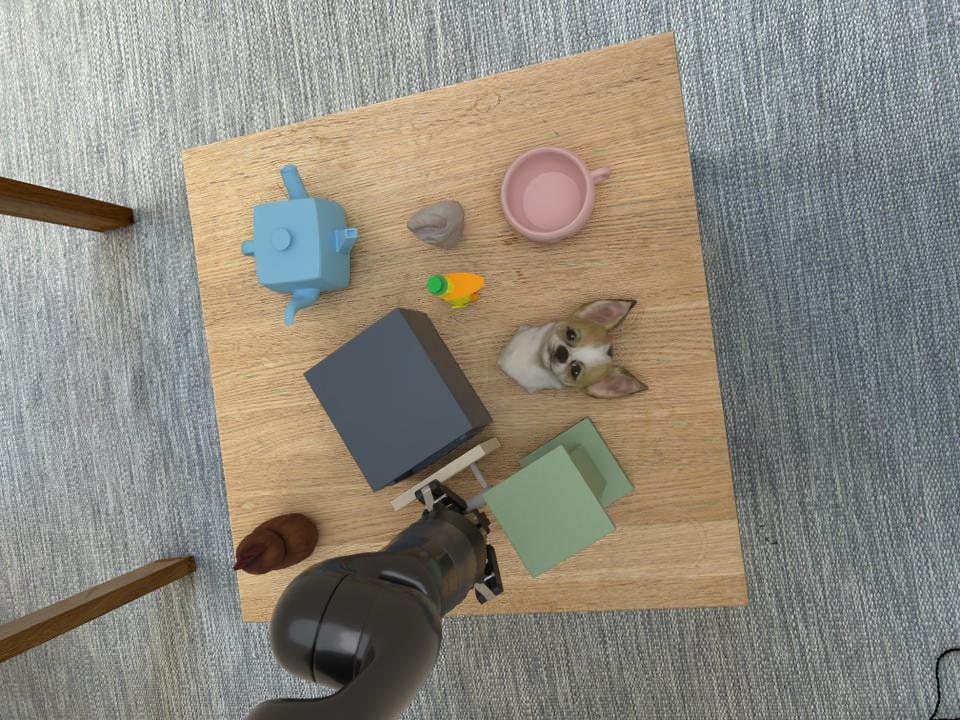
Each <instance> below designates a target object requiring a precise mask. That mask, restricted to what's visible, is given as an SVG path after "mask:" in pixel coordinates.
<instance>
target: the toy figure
mask: <svg viewBox="0 0 960 720" xmlns="http://www.w3.org/2000/svg"><path fill="white" fill-rule="evenodd" d="M485 286H486V280H485V277H484V276H481V275H478V274H476V273H470V272H453V273H452V272H451V273H446V274H434V275H432V276H431V277H430V278H428V279H427V281H426V288H427V290H428V292H429V293H430V294H431V295H432V296H433V297H434V298H437V299H442V300H445V301H446V302H447V304H452V306H451V310H459V309H464V308H467V307H468V305H466V304H468V303H474V302H477V301H478V300H480V294H477V292H479V291H480V290H481V289H482V288H483V287H485Z"/></svg>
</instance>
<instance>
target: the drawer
mask: <svg viewBox="0 0 960 720" xmlns="http://www.w3.org/2000/svg"><path fill="white" fill-rule="evenodd" d="M483 431H484V428H482V427H480V428H477V429H474V430H471V431H469V432H467V433H466V434H464V435H463V436H461V437H460V438H458V439H457V440H455V441H454V442H452V443H451V444H449V445H447V446H446V447H444V448H443V449H441V450H440V451H438V452H437V453H435V454H434V455H432V456H431V457H429V458H427V459H426V460H424V461H423V462H421V463H420V464H418V465H417V466H415V467H414V468H412V469H411V470H409V471H407V472H406V473H404V474H403V475H401V476H400V477H398V478H397V479H395V480H394V481H392V482H391V483H389V484H388V486H387V487H389V488H391V487H393V486H395V485H397V484H399V483H402V482H403V481H405V480H408V479H410V478H412V477H414V476H415V475H417V474H418V473H420V472H422V471H423V470H424V469H426V468H427V467H429V466H430V465H432V464H434V463H435V462H437V461H438V460H440V459H442V458H443V457H445V456H446V455H448V454H449V453H451V452H452V451H454V450H456V449H457V448H459V447H460V446H462V445H463V444H465V443H466V442H467V441H469V440H471V439H472V438H474V437H476V436H477V435H478V434H481V433H482V432H483ZM500 447H502V445H501V443H500V442H499V440H498V438H497V437H496V436H494V437H492V438H490V439H488V440H486V441H482V442H481V443H478V444H477V445H475V446H474V447H473V448H471V449H469V450H468V451H466V452H464V453H463V454H461V455H460V456H458V457H457V458H456V459H454V460H453V461H450V462H449V463H448V464H446V465H445V466H443V467H442V468H440V469H438V470H437V471H436V472H434V473H432V474H431V475H429V476H427V477H426V478H424V479H423V480H421V481H420V482H418V483H417V484H415V485H413V486H412V487H411V488H409V489H407V490H406V491H404V492H403V493H401V494H399V495H398V496H396V497H395V498H393V499H391V500H390V501H389V503H390V505H391V507H392V509H394V512H398V511H400V510H402V509H404V508H405V507H407V506H409V505H410V504H412V503H414V502H416V501H418V500H417V499H416V496H415V491H417V490H419V489H420V488H422V487H423V486H425V485H426V484H428V483H430V482H431V481H433V480H434V479H437V480H438V481H440V482H441V483H442V484H444V483H447V482H448V481H449V480H450V479H452V478H453V477H455V476H457V475H459V474H460V473H462V472H463V471H465V470H466V469H468V468H470V470H471V471H472V473H473V474H474V477H476V480H477V481H478V482H479V484H480V486H481V487H482V489H481V490H480V491H478V492H476V493H475V494H474V495H472V496H471V497H468V498H467V499H465V501H466V503H467V506H468V509H466V511H467V512H468V513H470V512H472V511H473V510H475V509H478V510H479V509H480V508H481V507H483V506H485V505H487V504H486V502H485V500H484V499H483V497H482V496H481V495H482V494H483V493H484V492H486V491H487V490H489V489H491V488H492V487H494V485H491V484H489V483H488V481H487V479H486V478H485V476H484V474H483V473H482V471H481V470H480V468H479V467H478V465H477V462H479V461H481V460H483V458H485V457H486V456H488V455H489V454H491V453H493V452H494V451H496V450H497V449H499V448H500Z"/></svg>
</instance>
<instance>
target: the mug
mask: <svg viewBox="0 0 960 720" xmlns="http://www.w3.org/2000/svg"><path fill="white" fill-rule="evenodd" d="M612 174H613V170H612V169H611V167H608V166H603V167H598V168H596V169H594V170H592V171H591V170H590V168H589V166H588V165H587V164H586V162H585V161H584V160H583V159H582V158H581V157H580V156H579V155H577V154H576V153H575V152H573V151H572V150H569V149H567V148H565V147H562V146H558V145H549V144H545V145H544V144H543V145H540V146H534V147H532V148H529V149H527V150H525V151H524V152H522V153H521V154H519V155H518V156H516V158H515V159H514V160H512V162H510V164H509V165H508V167H507V169H505V172H504V174H503V177H502V179H501V183H500V188H499V202H500V206H501V211H502V213H503V215H504V218H505V220H506V222H507V223H508V224H509V225H510V227H511V228H512V229H513V230H514V231H515V232H516V233H518V234H519V235H520V236H521V237H523V238H525V239H527V240H529V241H531V242H535V243H538V244H554V243H560V242H563V241H566V240H568V239H570V238H571V237H573V236H574V235H576V234H578V233H579V232H580V231H581V229H583V228H584V227H585V226H586V224H587V222H588V221H589V220H590V219H591V216H592V213H593V211H594V209H595V204H596V200H597V193H596V192H597V190H596V184H599V183H602V182H605V181H606V180H608V179H609V178H610V177H611V176H612Z"/></svg>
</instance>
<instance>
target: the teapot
mask: <svg viewBox="0 0 960 720" xmlns="http://www.w3.org/2000/svg"><path fill="white" fill-rule="evenodd" d="M279 173H280V176H281V179H282V181H283V184H284V186H285V189H286V192H287V194H288V197H289V199H286V200H285V199H284V200H277V201H271V202H265V203H259V204H256V205H255V204H254V206H253V214H252V233H253V235H252V237H253V238H252V239H248V240H247V239H246V240H244V241H243V242H241V245H240V251H241V254H242V255H243V256H246V257H252V258H254V261H255V270H256V275H257V281H258V283H259V285H260V286H262V287H264V288H266V289H267V290H269V291H272V292H275V293H277V294H282V295H292V299H291V300H290V301H289V302H288V303H287V304H286V306H285V309H284V314H283V318H284V323H285V325H286V326H287V327H291V326H292V325H293V323H294V320H295V316H296V314H297V312H299V311H300V310H303V309H307V308H309V307H311V306H312V305H314V304H315V303H316V302H317V301H318V299H319V298H320V295H321V293H322V292H329V291H330V292H331V291H336V290H341V289H346V288H348V287H349V285H350V280H351V251H352V249H353V247H354V245H355V243H356V242H357V240H358V238H359V235H358V228H357V227H353V228H348V227H349V226H348V221H347V215H346V213H345V212H346V211H345V209H344V208H343V206H342V205H341V204H340V203H339V202H337V201H334V200H330V199H327V198H320V197H310V196H309V194H308V191H307V189H306V187H305V185H304V182H303V180H302V178H301V174H300V172H299V170H298V168H297V166H296V165H295V164H288V165H286V166H285V165H284V166H283V167H281V168H280V170H279Z"/></svg>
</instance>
